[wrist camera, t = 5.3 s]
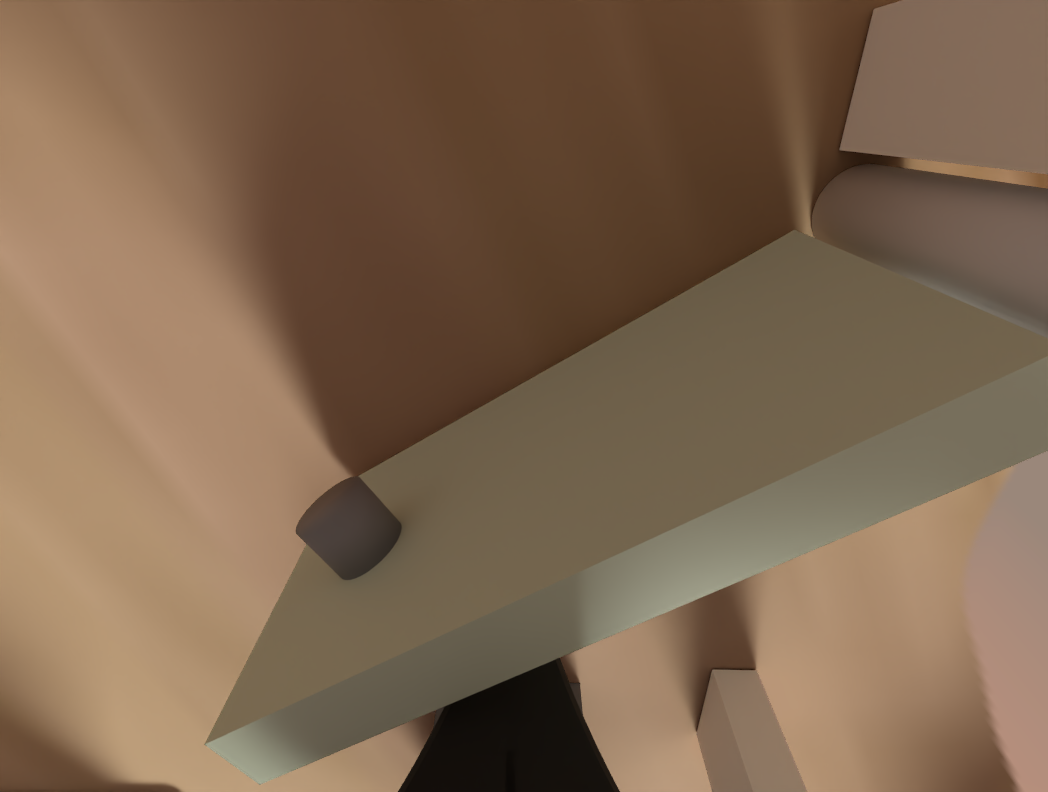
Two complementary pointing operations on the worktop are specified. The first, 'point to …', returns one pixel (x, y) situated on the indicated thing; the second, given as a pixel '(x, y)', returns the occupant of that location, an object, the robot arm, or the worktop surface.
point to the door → (631, 490)
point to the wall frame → (921, 236)
